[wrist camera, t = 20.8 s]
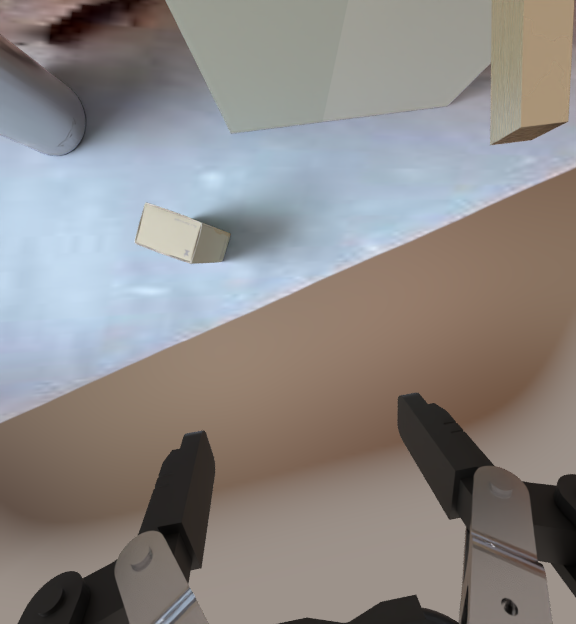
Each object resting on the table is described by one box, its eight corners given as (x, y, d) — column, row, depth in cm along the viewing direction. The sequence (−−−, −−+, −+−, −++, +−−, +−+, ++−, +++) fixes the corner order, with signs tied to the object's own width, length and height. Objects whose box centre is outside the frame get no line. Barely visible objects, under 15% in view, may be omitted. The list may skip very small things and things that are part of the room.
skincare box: (231, 233, 41) (206, 222, 29) (221, 264, 42) (192, 265, 30) (188, 217, 41) (144, 199, 29) (179, 248, 41) (132, 243, 29)
